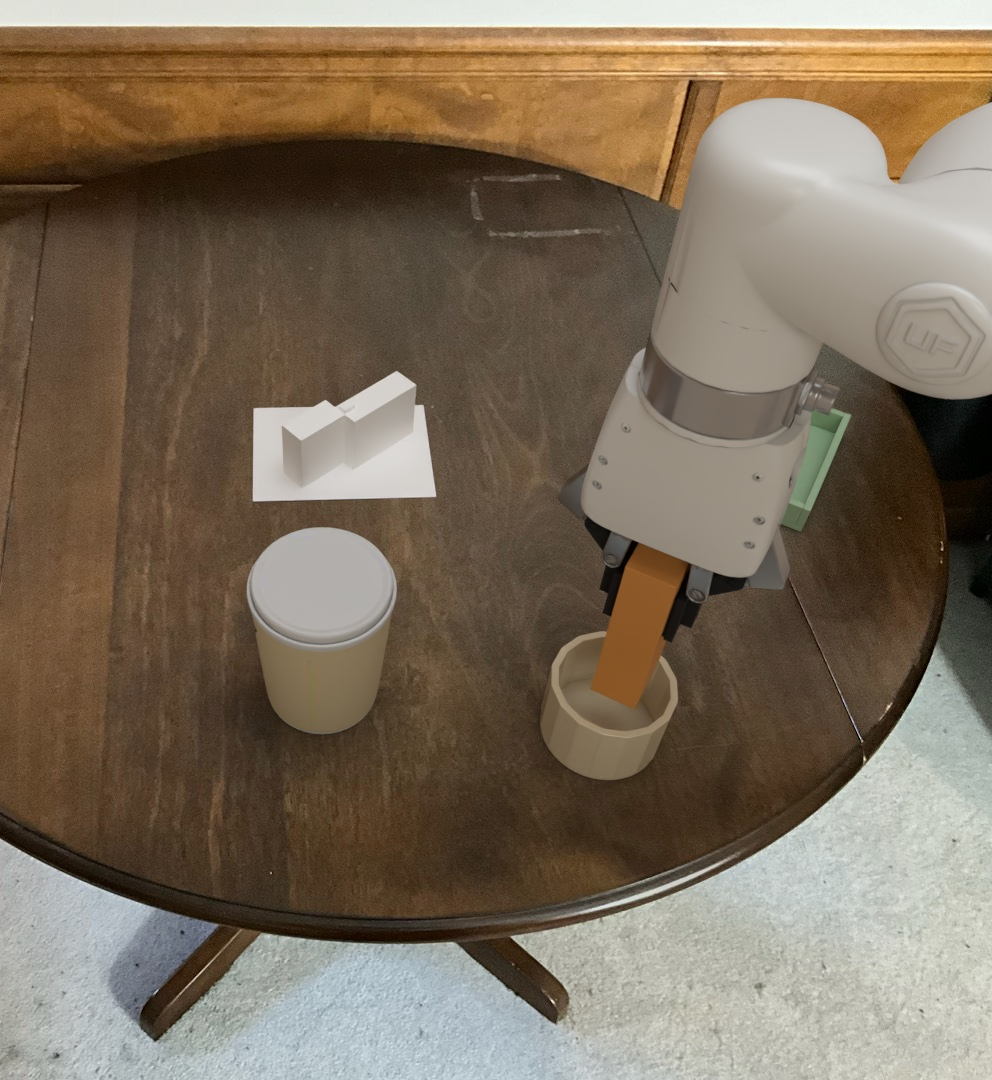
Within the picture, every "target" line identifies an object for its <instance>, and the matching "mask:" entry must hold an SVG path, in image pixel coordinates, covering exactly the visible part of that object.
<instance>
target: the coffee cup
mask: <svg viewBox="0 0 992 1080" xmlns="http://www.w3.org/2000/svg"><path fill="white" fill-rule="evenodd" d="M397 594H398V587H397V579H396V576H395V572H394V569H393V567H392V566H391V564H390V562H389V561H388V559H387V558H386V557H385V555H384V554H383V553H382V551H381V550H380V549H379V548H378V547H377V546H376V545H375V544H373V543H372V542H370V541H369V540H368V539H367V538H365V537H363V536H361V535H359V534H357V533H354V532H351V531H349V530H346V529H342V528H336V527H326V526H318V527H317V526H316V527H308V528H302V529H299V530H295V531H293V532H290V533H287V534H285V535H284V536H281V537H279V538H277V539H276V540H275V541H273V542H272V543H271V544H269V545H268V546H267V547H266V548H265V549H264V550H263V551H262V552H261V554H260V555H259V557H258V558H257V560H256V561H255V562H254V564H253V565H252V567H251V569H250V571H249V574H248V578H247V581H246V599H247V604H248V607H249V611H250V613H251V617H252V623H253V629H254V633H255V639H256V644H257V649H258V655H259V660H260V665H261V669H262V675H263V680H264V685H265V688H266V693H267V697H268V700H269V703H270V705H271V707H272V709H273V711H274V712H275V713H276V715H277V716H278V717H279V718H280V719H281V720H282V721H283V722H284V723H286V724H287V725H288V726H290V727H292V728H294V729H296V730H298V731H301V732H303V733H308V734H312V735H330V734H337V733H340V732H343V731H346V730H348V729H350V728H352V727H354V726H355V725H357V724H358V723H360V722H361V721H362V720H363V719H364V718H366V716H367V715H368V714H369V713H370V711H371V710H372V707H373V706H374V703H375V701H376V699H377V695H378V691H379V687H380V682H381V676H382V670H383V665H384V661H385V660H384V659H385V654H386V649H387V643H388V639H389V632H390V626H391V619H392V613H393V611H394V608H395V605H396V602H397Z"/></svg>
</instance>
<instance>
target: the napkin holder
mask: <svg viewBox="0 0 992 1080" xmlns="http://www.w3.org/2000/svg"><path fill="white" fill-rule="evenodd" d="M416 395H417V384H416V383H415V382H413V381H412V380H410V378H408V377H406V376H405V375H403V374H402V373H401V372H399V371H398V370H396V371H394V372H392V373H391V374H389V375H387V376H386V377H383V379H381V380H379V381H377V382H375V383H373V384H372V385H370V386H368V387H367V388H365V389H363V390H362V391H360V392H358V393H356V394H354V395H353V396H351V397H349V398H348V399H345V401H342V402H341V403H339V404H337V405H336V406H334V405H333V404H332V403H331V402H329V401H328V400H326V399H325V400H323V401H321V402H319V403H318V404H316V405H314V406H293V407H291V406H290V407H287V406H286V407H253V416H252V417H253V419H252V420H253V422H252V423H253V427H252V428H253V429H252V430H253V433H252V502H282V501H283V502H286V501H291V502H292V501H328V500H365V499H366V500H368V499H373V500H374V499H409V498H412V499H413V498H414V499H415V498H437V492H436V483H435V477H434V470H433V464H432V462H433V461H432V456H431V449H430V441H429V436H428V428H427V427H428V426H427V421H426V413H425V412H426V411H425V406H424V404H416Z"/></svg>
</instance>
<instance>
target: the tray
mask: <svg viewBox="0 0 992 1080" xmlns="http://www.w3.org/2000/svg"><path fill="white" fill-rule="evenodd" d="M851 417H852V414H850V413H847V412H844V411H842V410H839V409H836V408H833V407H832V409H831V411H830V413H829V415H826V414H823V413H820V412H817V411H814V410H812V416H811V426H810V432H809V437H808V442H807V447H806V452H805V456H804V459H803V463H802V466H801V469H800V472H799V475H798V478H797V481H796V484H795V487H794V490H793V493H792V496H791V499H790V501H789V504H788V507H787V509H786V512H785V515H784V517H783V520H782V522H781V525H782V526H785V527H787V528H790V529H792V530H794V531H797V532H799V533H801V532H802V531H803V528H804V526H805V524H806V522H807V521H808V517H809V516H810V514H811V511H812V510H813V507H814V505H815V502H816V500H817V497H818V495H819V493H820V490H821V489H822V486H823V483H824V481H825V479H826V477H827V475H828V472H829V469H830V467H831V465H832V462H833V460H834V459H835V458H834V457H835V456H836V453H837V450H838V448H839V446H840V443H841V441H842V438H843V436H844V434H845V432H846V429H847V427H848V425H849V422H850V420H851Z"/></svg>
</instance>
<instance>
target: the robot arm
mask: <svg viewBox="0 0 992 1080" xmlns="http://www.w3.org/2000/svg"><path fill="white" fill-rule="evenodd" d="M887 160H888V159H887V155H886V152H885V149H884V147H883V145H882V143H881V141H880V140H879V137H878V136H877V135H876V134H875V133H874V132H873V131H872V130H871V129H870V128H869V127H868V126H867V124H865V123H863V122H862V121H861V120H860V119H858V118H856V117H854V116H852V115H851V114H849V113H847V112H845V111H843V110H840V109H838V108H836V107H833V106H830V105H827V104H824V103H819V102H815V101H812V100H811V101H810V100H805V99H800V98H790V97H768V98H766V97H765V98H764V97H763V98H759V99H753V100H748V101H746V102H742V103H739V104H737V105H734V106H732V107H730V108H728V109H726V110H725V111H723V112H722V113H721V114H719V115H718V116H717V117H716V118H714V119H713V121H712V122H711V123H709V126H707V128H706V129H705V131H704V132H703V133H702V136H701V138H700V140H699V142H698V144H697V148H696V150H695V154H694V157H693V161H692V164H691V168H690V171H689V175H688V179H687V184H686V187H685V191H684V195H683V199H682V203H681V208H680V211H679V214H678V218H677V219H678V220H677V223H676V226H675V231H674V235H673V239H672V242H671V246H670V250H669V251H670V252H669V254H668V259H667V262H666V267H665V270H664V275H663V278H662V283H661V286H660V291H659V295H658V298H657V302H656V307H655V311H654V314H653V318H652V324H651V327H650V330H649V334H648V338H647V342H646V346H645V347H644V348H641V349H640V350H639V351H637V352H636V354H635V355H634V356H633V358H632V359H631V361H630V363H629V365H628V367H627V369H626V370H625V372H624V375H623V376H622V379H621V380H620V383H619V385H618V387H617V389H616V391H615V394H614V396H613V398H612V401H611V403H610V405H609V408H608V410H607V412H606V415H605V418H604V421H603V423H602V425H601V429H600V431H599V434H598V437H597V440H596V442H595V445H594V448H593V451H592V455H591V457H590V460H589V462H588V463H587V464H586V465H584V466H583V467H582V468H581V469H579V470H578V471H577V472H576V473H575V474H573V475H572V476H571V477H570V478H568V479H567V480H566V481H565V483H564V484H563V486H562V487H561V489H560V491H559V492H558V494H557V496H556V497H557V500H558V501H559V503H560V504H561V505H562V506H564V507H565V508H566V509H567V510H568V511H569V512H570V513H571V514H573V516H575V517H576V518H577V519H579V520H582V521H583V523H584V525H583V526H584V527H585V529H586V530H587V532H588V533H589V534H590V536H591V537H592V538H593V540H594V542H595V543H596V544H597V546H598V547H599V548H600V550H601V551H602V552H601V554H600V560H601V562H602V563H603V565H604V566H605V567H604V571H603V574H602V577H601V581H600V584H599V590H600V591H601V592H604V593H606V594H607V595H606V599H605V603H604V606H603V610H602V614H604V615H606V616H608V617H610V618H611V615H612V612H613V608H614V605H615V601H616V598H617V594H618V591H619V587H620V584H621V580H622V577H623V573H624V570H625V566H626V565H627V563H628V561H629V559H630V557H631V556H632V554H633V552H634V550H635V548H636V547H637V545H638V543H642V544H644V545H646V546H649V547H651V548H654V549H656V550H659V551H661V552H664V553H666V554H669V555H671V556H674V557H676V558H679V559H681V560H684V561H686V562H689V563H691V567H690V569H689V571H688V573H687V575H686V577H685V579H684V581H683V583H682V585H681V587H680V589H679V591H678V593H677V595H676V597H675V599H674V602H673V605H672V608H671V611H670V613H669V616H668V619H667V622H666V625H665V628H664V631H663V634H662V637H664V638H663V639H664V640H666V642H668V643H673V641H674V638H675V637H676V635H677V633H678V630H679V629H680V627H681V626H684V627H686V628H689V629H692V628H693V627H694V624H695V622H696V619H697V618H698V615H699V614H700V613H699V612H700V610H701V608H702V605H703V604H704V603H706V602H707V601H708V598H709V597H711V596H712V597H713V596H718V595H723V594H727V593H732V592H739V591H741V590H743V589H744V588H749V589H750V590H765V591H766V590H767V591H769V590H770V591H780V590H783V589H784V588H785V586H786V584H787V581H788V579H789V577H790V575H791V572H792V568H791V564H790V561H789V557H788V553H787V549H786V546H785V545H786V544H785V542H784V539H783V534H782V531H781V528H780V527H781V525H782V524H781V522H782V520H783V517H784V515H785V512H786V509H787V507H788V504H789V501H790V499H791V496H792V493H793V490H794V487H795V484H796V481H797V478H798V475H799V472H800V469H801V466H802V463H803V459H804V456H805V452H806V447H807V442H808V437H809V432H810V426H811V416H812V410H814V411H817V412H820V413H823V414H826V415H829V413H830V411H831V409H832V408H833V406H834V404H835V402H836V400H837V397H838V395H839V392H840V391H841V387H839V386H835V385H834V384H833V385H832V384H829V383H827V382H826V379H824V378H821V377H818V376H819V373H820V370H818V369H816V368H815V366H816V364H817V361H818V359H819V356H820V353H821V350H822V348H823V345H824V344H825V345H826V346H828V347H830V348H831V349H833V350H834V351H836V352H838V353H839V354H841V355H843V356H844V357H846V358H847V359H849V360H850V361H852V362H854V363H855V364H857V365H859V366H860V367H862V368H864V369H865V370H867V371H868V372H870V373H872V374H874V375H876V376H878V377H879V378H882V379H884V380H885V381H887V382H889V383H891V384H893V385H896V386H897V387H900V388H903V389H905V390H907V391H910V392H913V393H916V394H919V395H923V396H927V397H930V398H936V399H944V400H971V399H976V398H982V397H987V396H989V395H992V101H991V102H988V103H986V104H983V105H981V106H979V107H976V108H974V109H972V110H970V111H968V112H966V113H964V114H962V115H960V116H958V117H957V118H955V119H953V120H951V121H950V122H947V124H945V125H944V126H943V127H942V128H941V129H939V130H938V131H937V132H935V133H934V134H933V135H932V136H930V137H929V138H928V139H927V140H926V141H925V142H924V143H923V144H922V146H920V148H919V149H918V150H917V152H916V153H915V154H914V156H913V157H912V158H911V160H910V162H909V163H908V164H907V166H906V168H905V169H904V171H903V173H902V174H901V176H900V178H899V179H898V181H897V183H896V182H894V181H893V180H892V179H891V178H890V176H889V173H888V161H887Z"/></svg>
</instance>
